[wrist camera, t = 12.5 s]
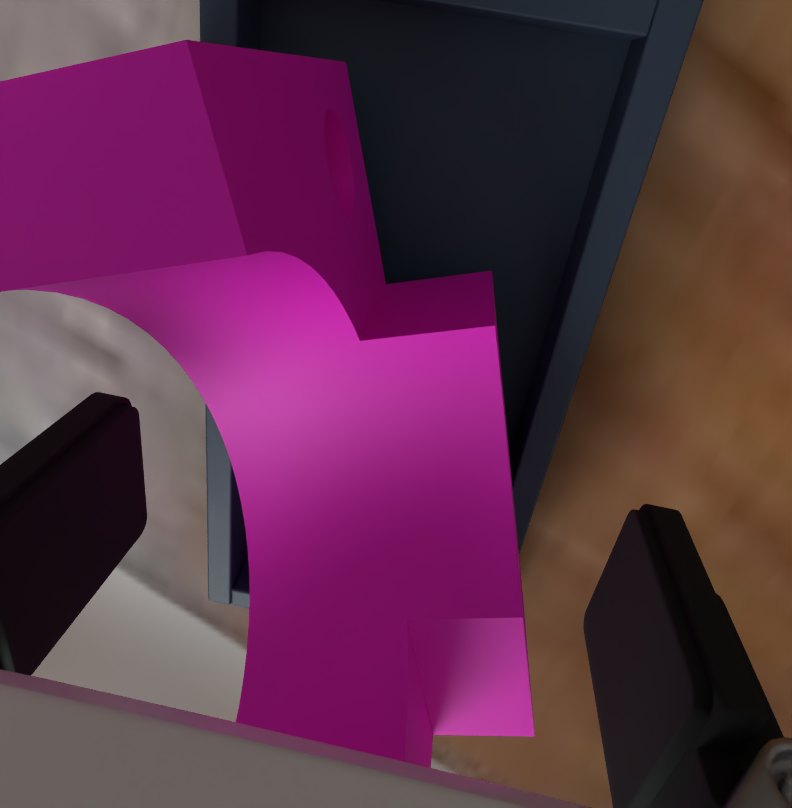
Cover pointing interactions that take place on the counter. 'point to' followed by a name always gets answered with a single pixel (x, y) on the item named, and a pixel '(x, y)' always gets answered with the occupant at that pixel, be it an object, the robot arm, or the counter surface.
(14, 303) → the counter surface
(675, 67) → the rectangular tray
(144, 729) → the robot arm
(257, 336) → the toy block
